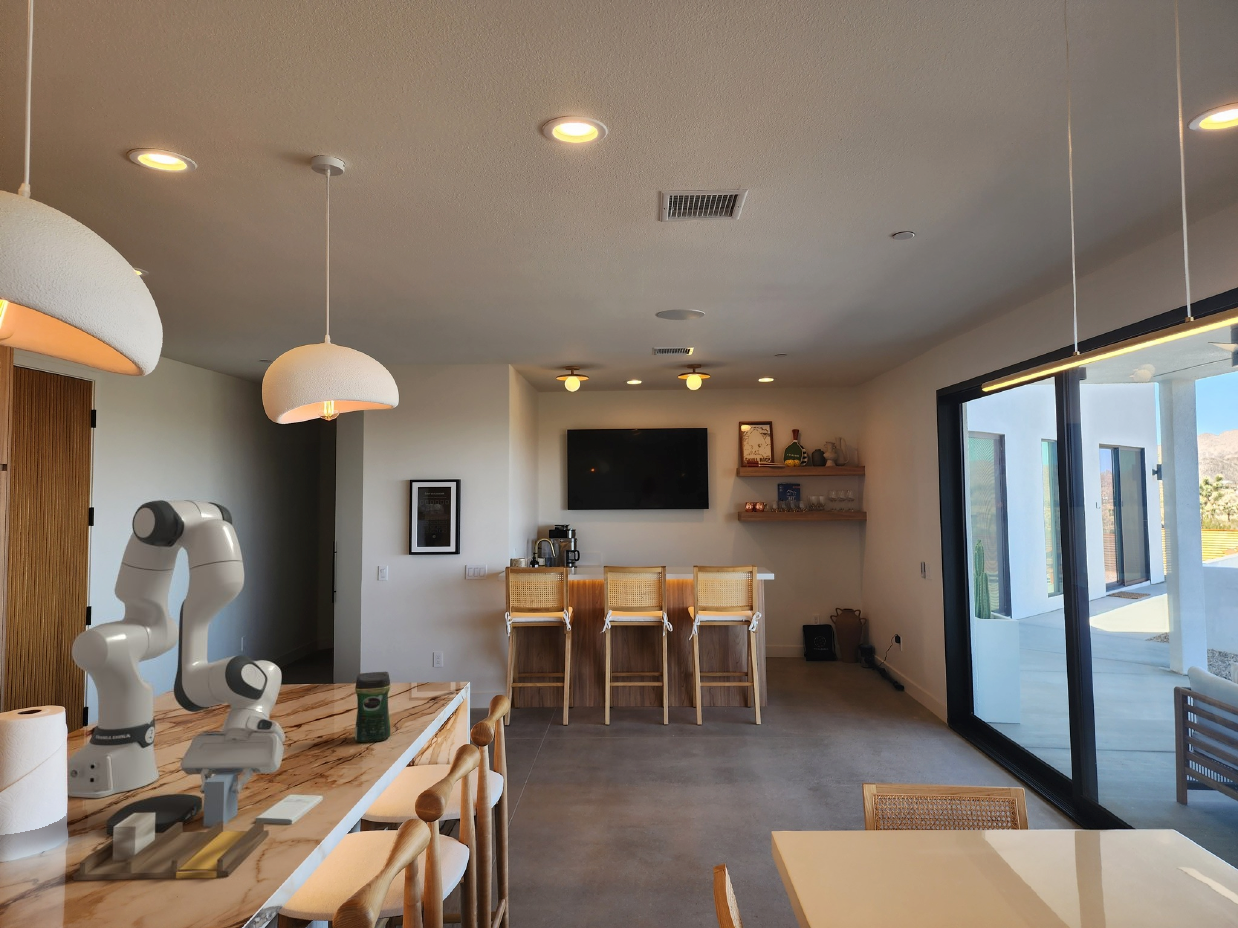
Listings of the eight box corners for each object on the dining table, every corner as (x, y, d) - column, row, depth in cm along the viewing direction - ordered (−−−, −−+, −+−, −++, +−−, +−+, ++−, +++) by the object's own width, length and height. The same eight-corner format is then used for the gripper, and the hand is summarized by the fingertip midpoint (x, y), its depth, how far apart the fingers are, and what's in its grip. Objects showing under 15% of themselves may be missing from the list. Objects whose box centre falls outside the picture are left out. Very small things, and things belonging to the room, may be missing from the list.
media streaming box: (140, 807, 159) (140, 793, 159) (208, 805, 160) (209, 791, 160) (97, 837, 144) (97, 822, 145) (172, 835, 145) (173, 820, 146)
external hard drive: (254, 825, 150) (288, 800, 163) (291, 826, 149) (322, 802, 162) (255, 817, 150) (288, 793, 163) (292, 818, 149) (323, 794, 162)
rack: (72, 881, 127) (73, 840, 127) (131, 838, 143) (132, 802, 144) (227, 877, 128) (228, 836, 128) (268, 835, 144) (269, 799, 145)
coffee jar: (390, 732, 209) (391, 668, 210) (389, 741, 202) (390, 674, 203) (355, 735, 207) (356, 670, 208) (353, 744, 199) (354, 676, 200)
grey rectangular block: (203, 826, 149) (204, 781, 149) (218, 813, 155) (219, 771, 155) (223, 825, 149) (224, 781, 149) (237, 813, 155) (238, 770, 155)
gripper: (191, 724, 159) (163, 786, 149) (284, 722, 160) (263, 784, 150) (201, 738, 164) (175, 799, 153) (292, 736, 164) (272, 797, 154)
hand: (219, 792), depth 152 cm, fingers open, 5 cm apart
